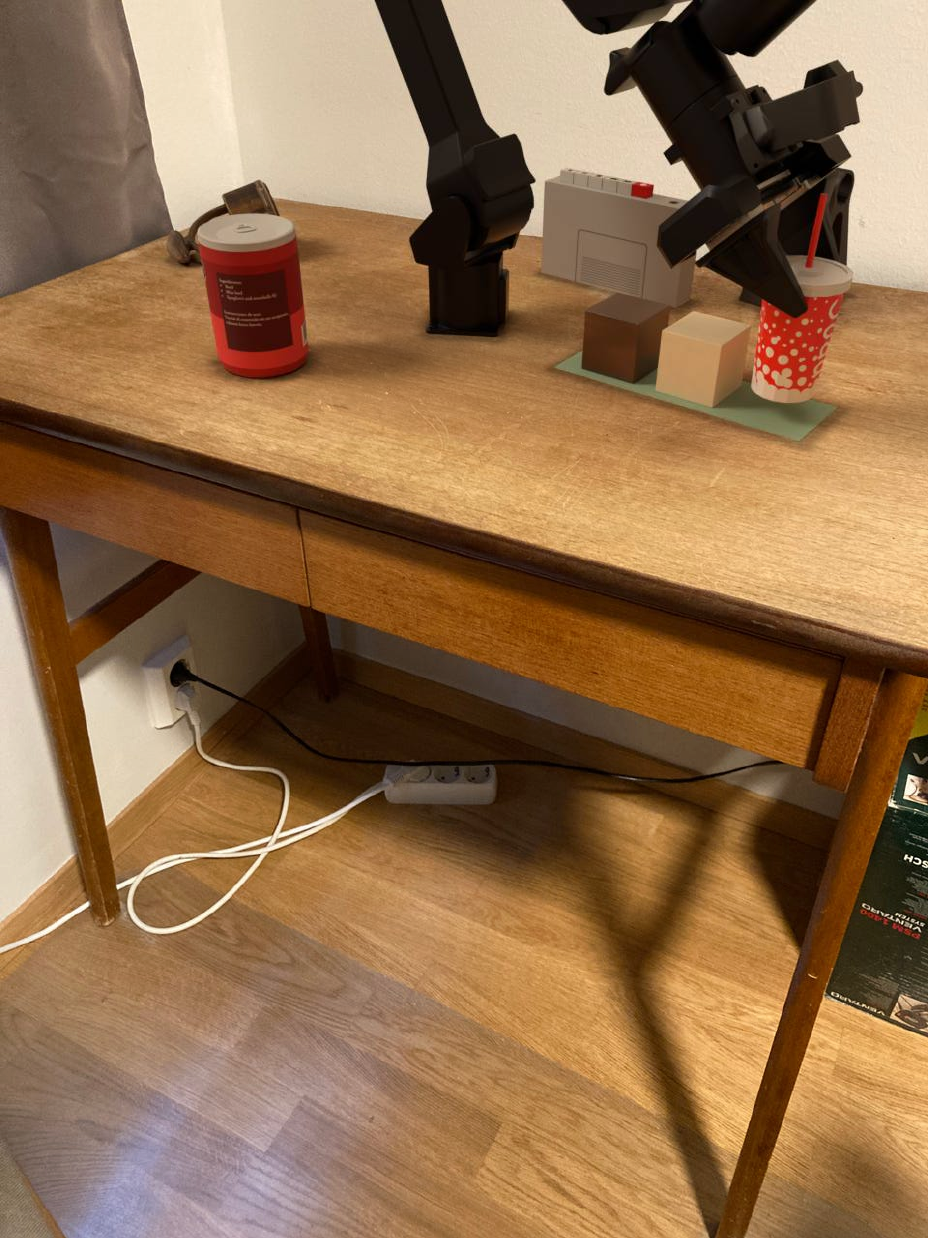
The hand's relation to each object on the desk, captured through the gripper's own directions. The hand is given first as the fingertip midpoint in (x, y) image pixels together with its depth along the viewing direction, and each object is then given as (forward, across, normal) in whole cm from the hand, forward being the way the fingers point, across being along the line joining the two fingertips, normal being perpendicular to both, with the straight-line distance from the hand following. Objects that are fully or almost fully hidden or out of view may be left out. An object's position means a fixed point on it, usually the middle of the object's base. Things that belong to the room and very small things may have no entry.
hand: (820, 301), depth 70 cm
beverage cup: (+4, 0, +6) cm, 7 cm away
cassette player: (-11, +16, +25) cm, 32 cm away
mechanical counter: (-38, +1, +53) cm, 65 cm away
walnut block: (-4, 0, +17) cm, 18 cm away
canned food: (-22, -17, +36) cm, 45 cm away
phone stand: (-1, +24, +14) cm, 28 cm away
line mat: (0, 0, +13) cm, 13 cm away
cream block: (+1, 0, +12) cm, 12 cm away
